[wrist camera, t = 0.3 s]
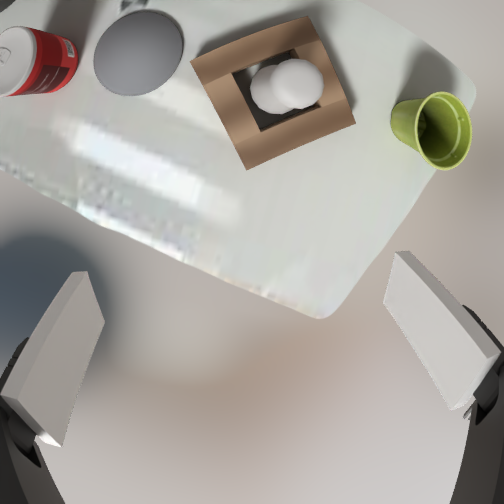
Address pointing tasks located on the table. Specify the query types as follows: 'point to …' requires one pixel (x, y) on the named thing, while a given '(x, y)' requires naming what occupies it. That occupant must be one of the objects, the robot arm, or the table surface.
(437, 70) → the table surface
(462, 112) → the plant pot
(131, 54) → the coaster
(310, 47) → the collar block
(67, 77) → the canned food
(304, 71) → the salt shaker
